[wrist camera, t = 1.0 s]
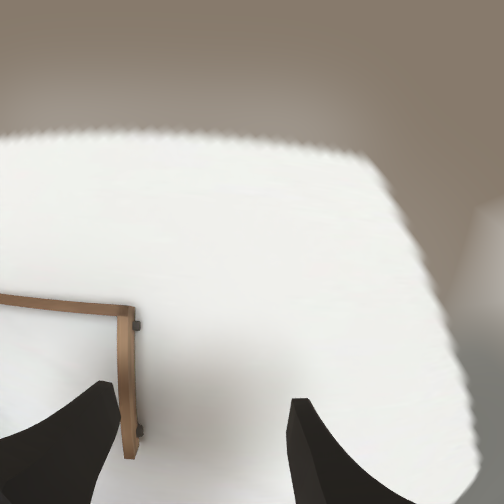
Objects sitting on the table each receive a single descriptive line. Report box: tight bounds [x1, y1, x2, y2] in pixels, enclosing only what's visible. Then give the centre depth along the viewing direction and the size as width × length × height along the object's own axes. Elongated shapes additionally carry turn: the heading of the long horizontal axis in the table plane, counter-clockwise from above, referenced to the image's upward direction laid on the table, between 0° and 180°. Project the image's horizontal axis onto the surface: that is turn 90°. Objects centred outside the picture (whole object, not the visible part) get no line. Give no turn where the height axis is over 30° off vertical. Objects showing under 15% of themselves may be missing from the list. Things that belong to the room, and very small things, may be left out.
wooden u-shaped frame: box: [0, 294, 144, 459], centre depth 20 cm, size 12×21×4 cm, turn 90°
